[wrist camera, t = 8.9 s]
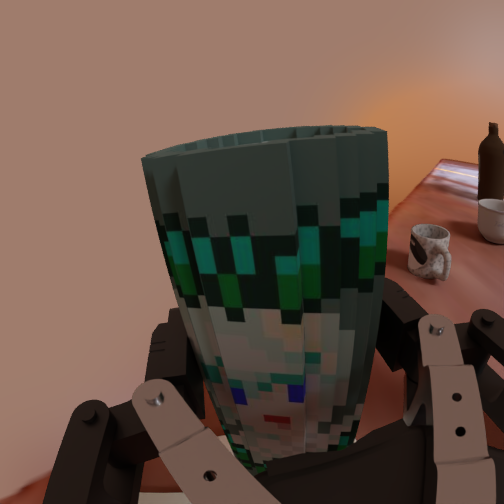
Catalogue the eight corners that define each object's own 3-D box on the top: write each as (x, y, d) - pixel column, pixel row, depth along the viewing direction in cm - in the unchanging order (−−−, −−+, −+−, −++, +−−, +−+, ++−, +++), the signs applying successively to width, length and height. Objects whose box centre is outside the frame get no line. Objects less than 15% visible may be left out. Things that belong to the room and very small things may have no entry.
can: (224, 481, 12) (96, 172, 6) (253, 398, 17) (203, 137, 11) (344, 494, 10) (409, 139, 4) (351, 403, 16) (365, 124, 9)
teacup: (493, 251, 45) (500, 213, 42) (465, 231, 55) (469, 196, 52) (530, 245, 44) (537, 211, 41) (503, 227, 54) (507, 195, 51)
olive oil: (506, 202, 70) (510, 126, 59) (500, 208, 65) (505, 124, 55) (480, 194, 78) (482, 121, 68) (471, 200, 74) (474, 119, 63)
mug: (401, 261, 48) (405, 225, 45) (433, 257, 47) (437, 222, 44) (426, 292, 38) (433, 251, 36) (460, 286, 38) (468, 247, 35)
